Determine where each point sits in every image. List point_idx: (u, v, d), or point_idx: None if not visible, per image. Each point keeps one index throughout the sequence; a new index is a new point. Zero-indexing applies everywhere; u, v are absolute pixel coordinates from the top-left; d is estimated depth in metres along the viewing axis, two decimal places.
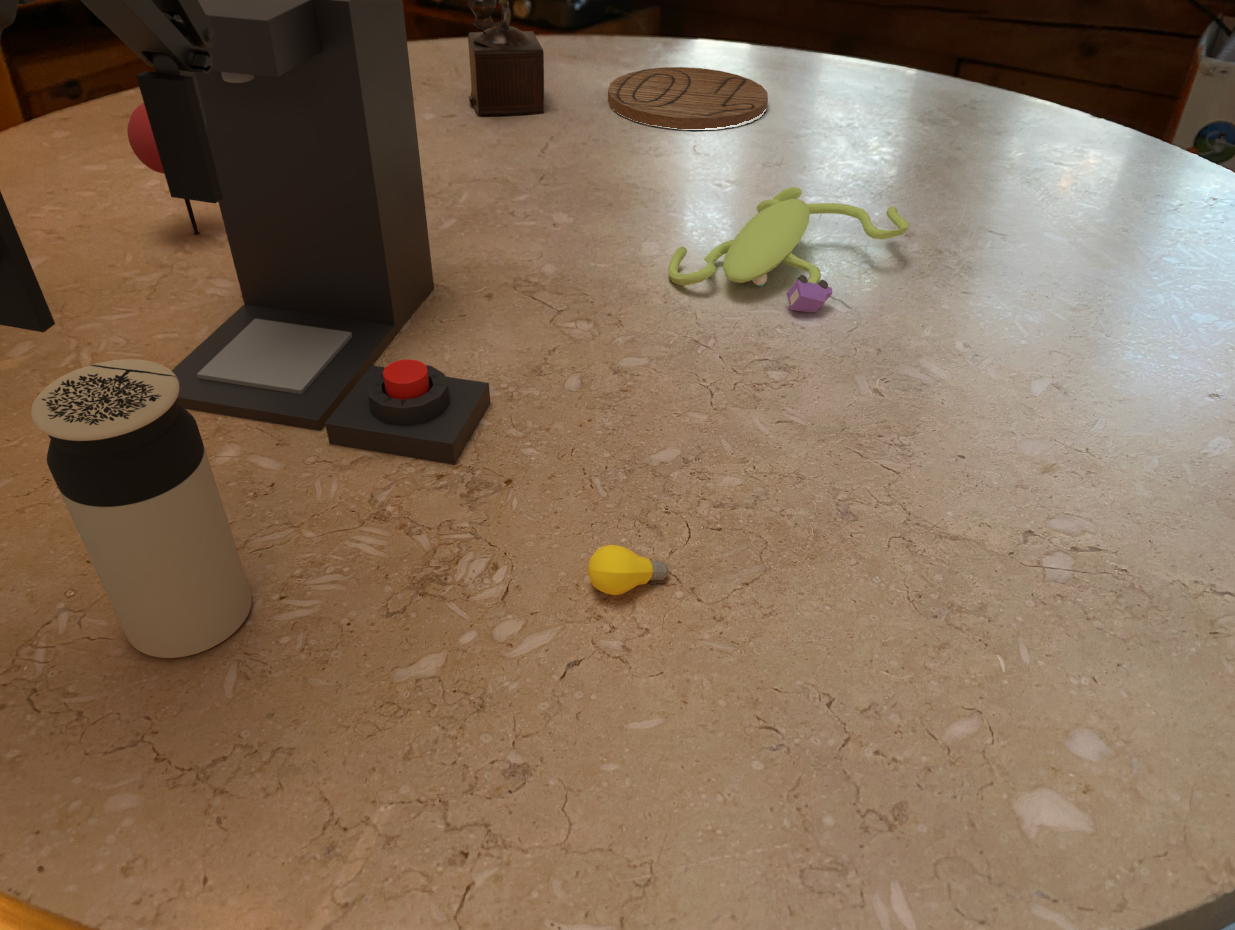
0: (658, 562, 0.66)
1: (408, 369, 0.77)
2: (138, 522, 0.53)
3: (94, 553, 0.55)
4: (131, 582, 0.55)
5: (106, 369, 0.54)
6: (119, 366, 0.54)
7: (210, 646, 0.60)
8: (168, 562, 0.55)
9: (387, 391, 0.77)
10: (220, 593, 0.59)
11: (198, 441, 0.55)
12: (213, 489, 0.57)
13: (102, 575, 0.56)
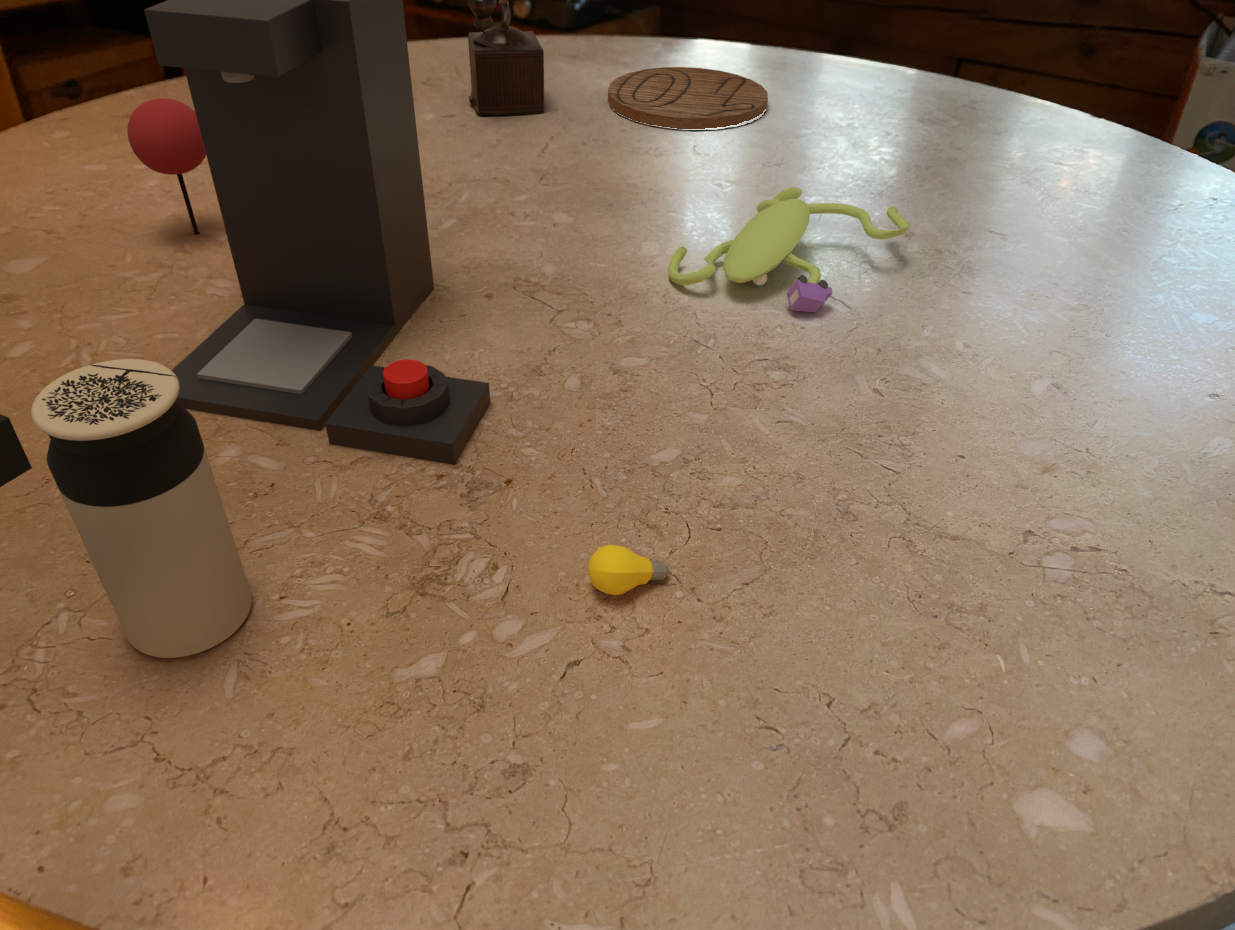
0: (658, 562, 0.66)
1: (408, 369, 0.77)
2: (138, 522, 0.53)
3: (94, 553, 0.55)
4: (131, 581, 0.55)
5: (106, 369, 0.54)
6: (118, 366, 0.54)
7: (210, 646, 0.60)
8: (168, 561, 0.55)
9: (387, 391, 0.77)
10: (220, 593, 0.59)
11: (198, 441, 0.55)
12: (213, 489, 0.57)
13: (102, 575, 0.56)
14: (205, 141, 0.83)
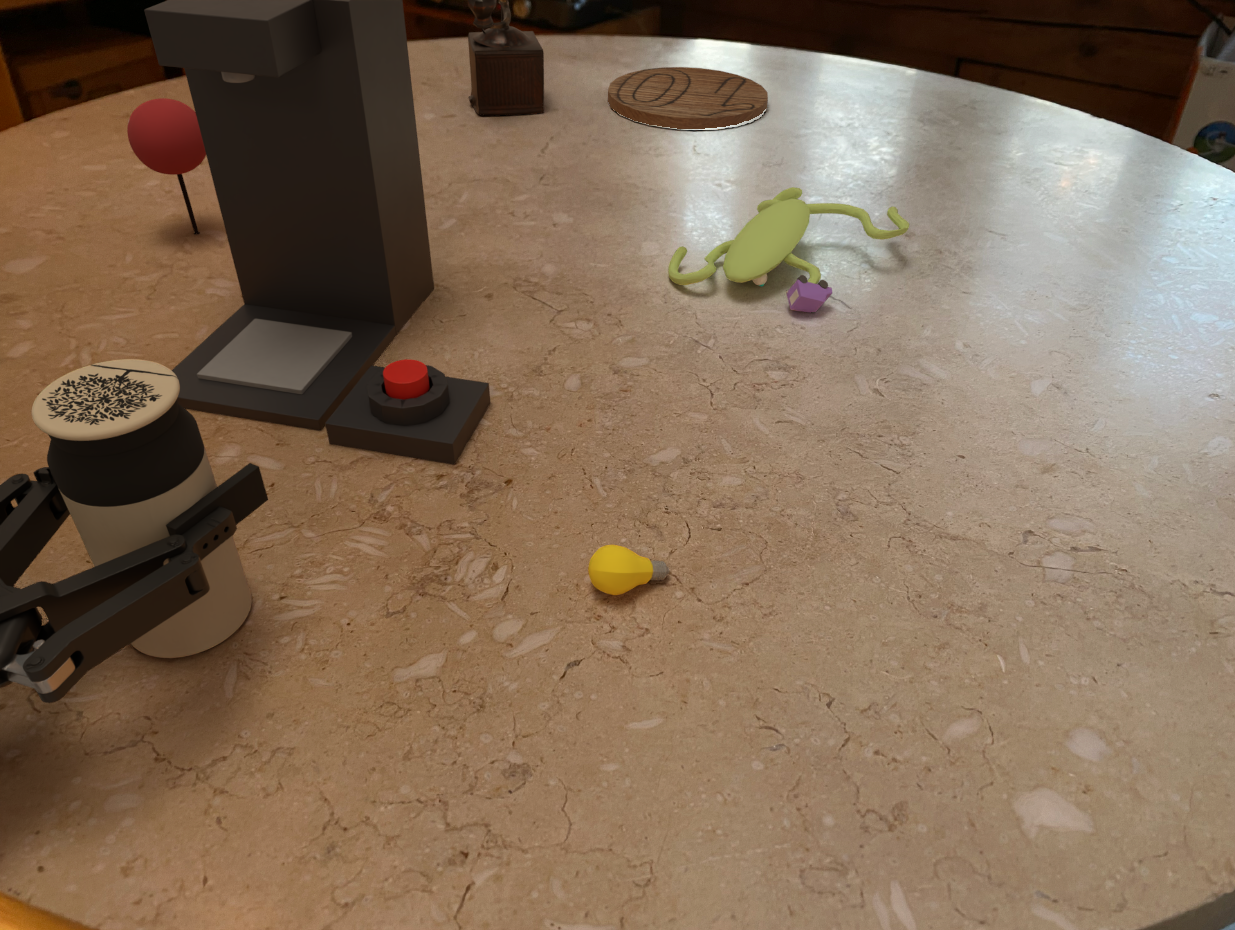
0: (658, 562, 0.66)
1: (408, 369, 0.77)
2: (139, 522, 0.53)
3: (94, 553, 0.55)
4: None
5: (106, 369, 0.54)
6: (119, 366, 0.54)
7: (210, 646, 0.60)
8: (168, 562, 0.55)
9: (387, 391, 0.77)
10: (220, 593, 0.59)
11: (198, 441, 0.55)
12: (213, 489, 0.57)
13: None
14: (205, 141, 0.83)
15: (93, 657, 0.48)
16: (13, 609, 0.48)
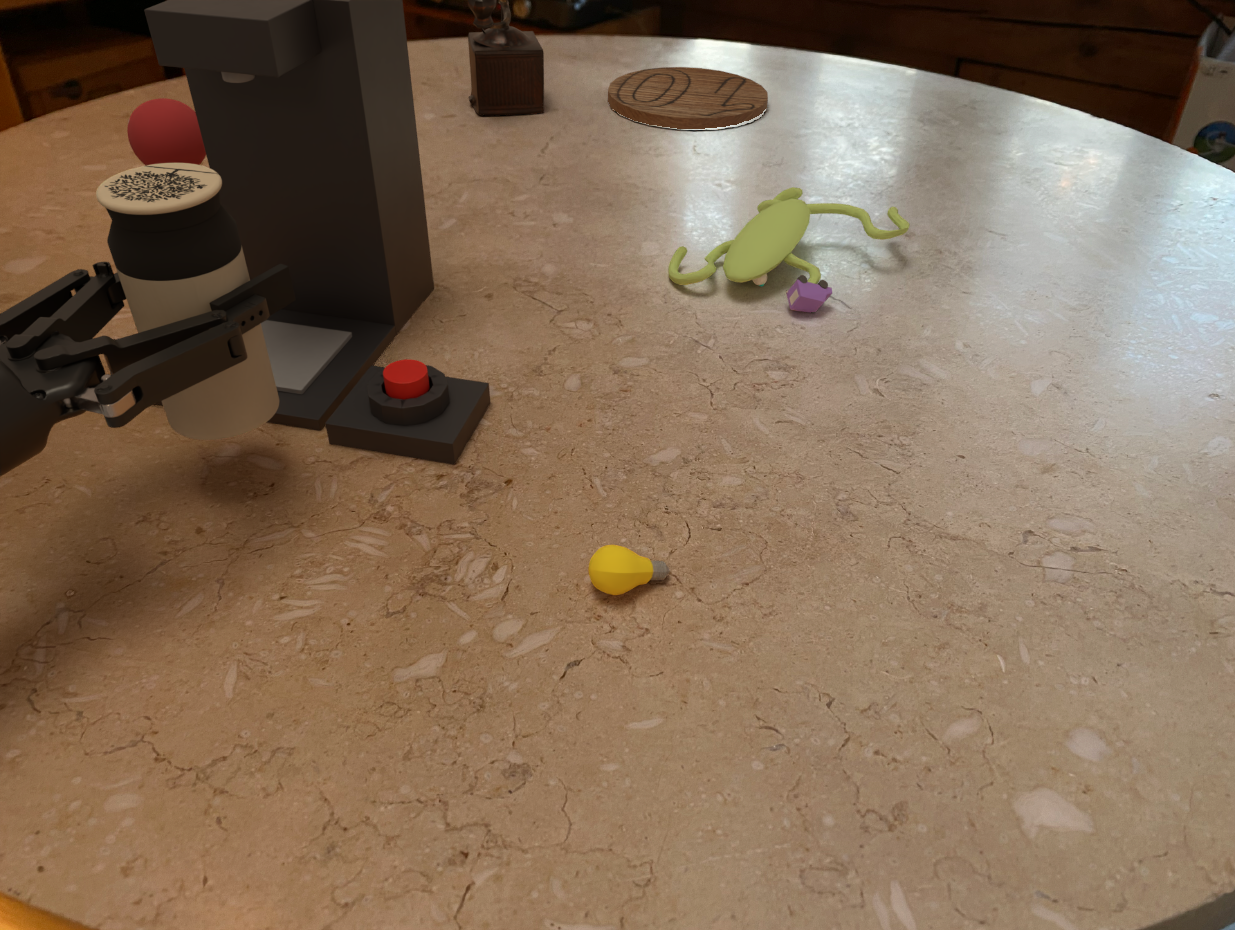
0: (658, 562, 0.66)
1: (408, 369, 0.77)
2: (186, 298, 0.61)
3: None
4: None
5: (158, 168, 0.62)
6: (169, 167, 0.62)
7: (244, 432, 0.69)
8: None
9: (387, 391, 0.77)
10: (253, 382, 0.67)
11: (237, 235, 0.63)
12: None
13: None
14: (205, 141, 0.83)
15: (151, 396, 0.57)
16: (83, 352, 0.56)
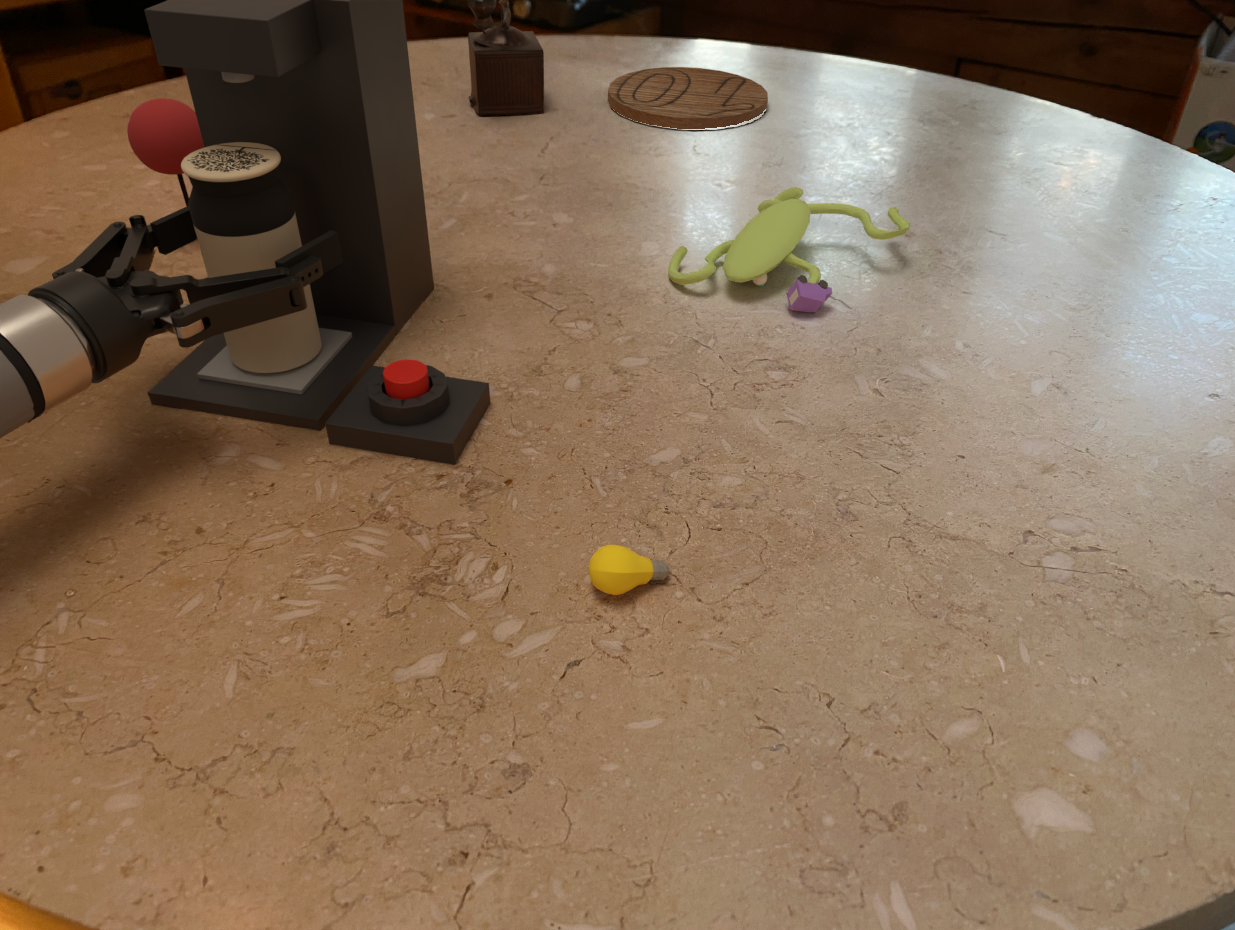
0: (659, 562, 0.66)
1: (408, 369, 0.77)
2: (252, 251, 0.75)
3: None
4: None
5: (228, 146, 0.76)
6: (236, 145, 0.76)
7: (294, 366, 0.83)
8: None
9: (387, 391, 0.77)
10: (302, 324, 0.82)
11: (291, 200, 0.77)
12: (300, 242, 0.79)
13: None
14: (205, 141, 0.83)
15: (217, 327, 0.69)
16: (167, 286, 0.69)
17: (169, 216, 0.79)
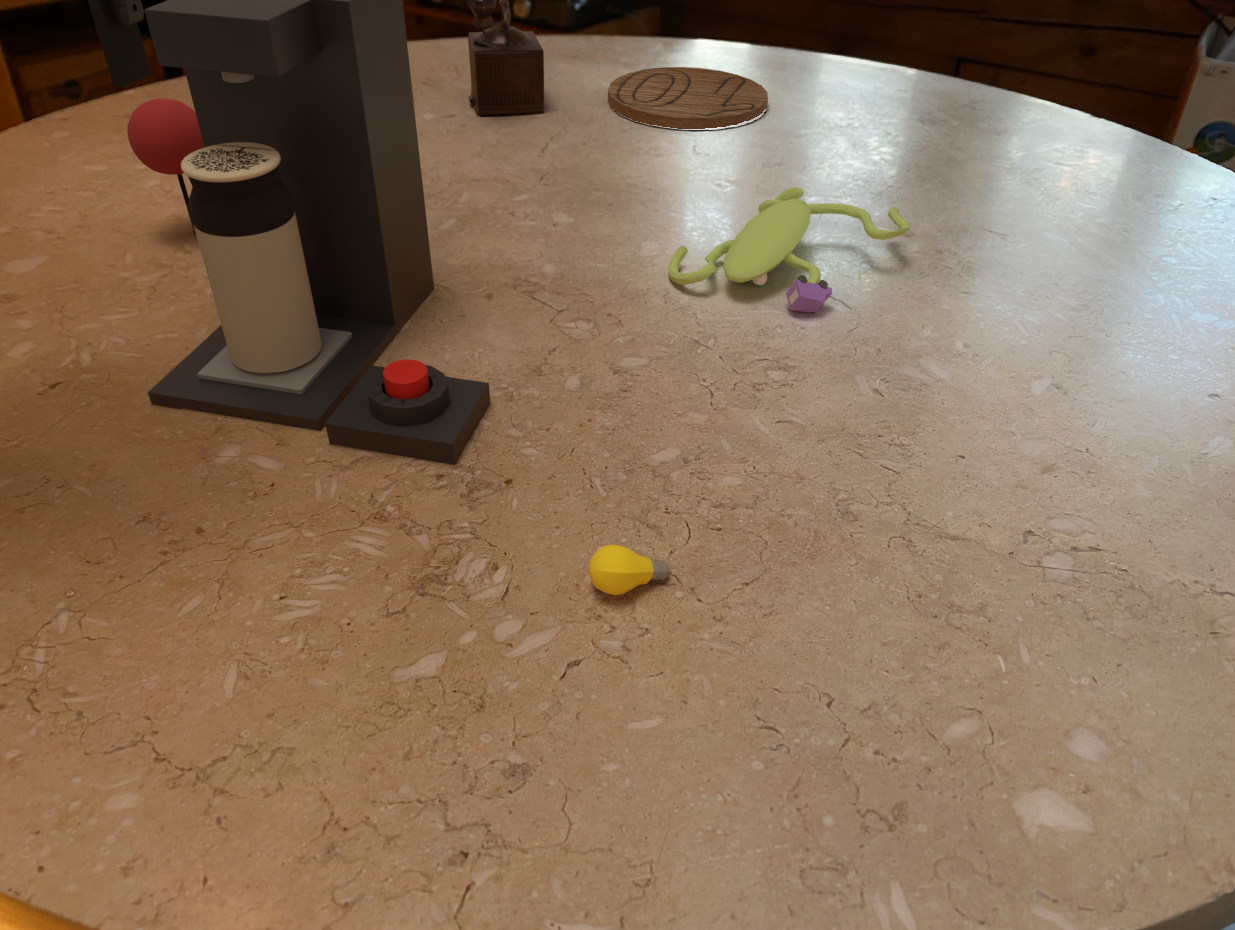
0: (659, 562, 0.66)
1: (408, 369, 0.77)
2: (252, 251, 0.75)
3: (218, 280, 0.77)
4: (243, 303, 0.78)
5: (228, 146, 0.76)
6: (236, 145, 0.76)
7: (294, 366, 0.83)
8: (270, 288, 0.78)
9: (387, 391, 0.77)
10: (302, 324, 0.82)
11: (291, 200, 0.77)
12: (300, 242, 0.79)
13: (221, 301, 0.79)
14: (205, 141, 0.83)
15: None
16: None
17: None
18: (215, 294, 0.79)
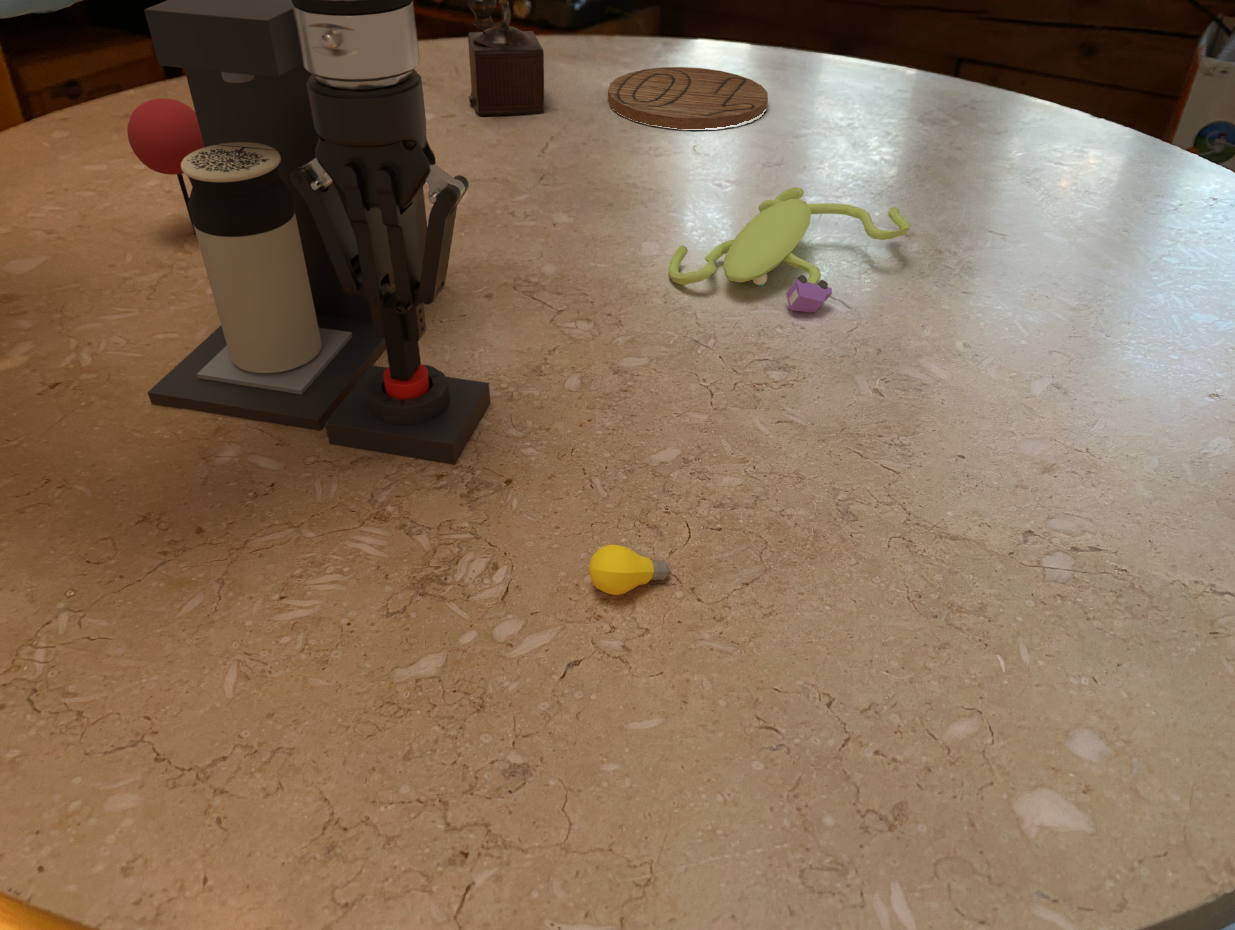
0: (659, 562, 0.66)
1: None
2: (252, 251, 0.75)
3: (218, 280, 0.77)
4: (243, 303, 0.78)
5: (228, 146, 0.76)
6: (236, 145, 0.76)
7: (294, 366, 0.83)
8: (270, 288, 0.78)
9: (387, 393, 0.77)
10: (302, 324, 0.82)
11: (291, 200, 0.77)
12: (300, 242, 0.79)
13: (221, 301, 0.79)
14: (205, 141, 0.83)
15: (447, 222, 0.67)
16: None
17: None
18: (215, 294, 0.79)
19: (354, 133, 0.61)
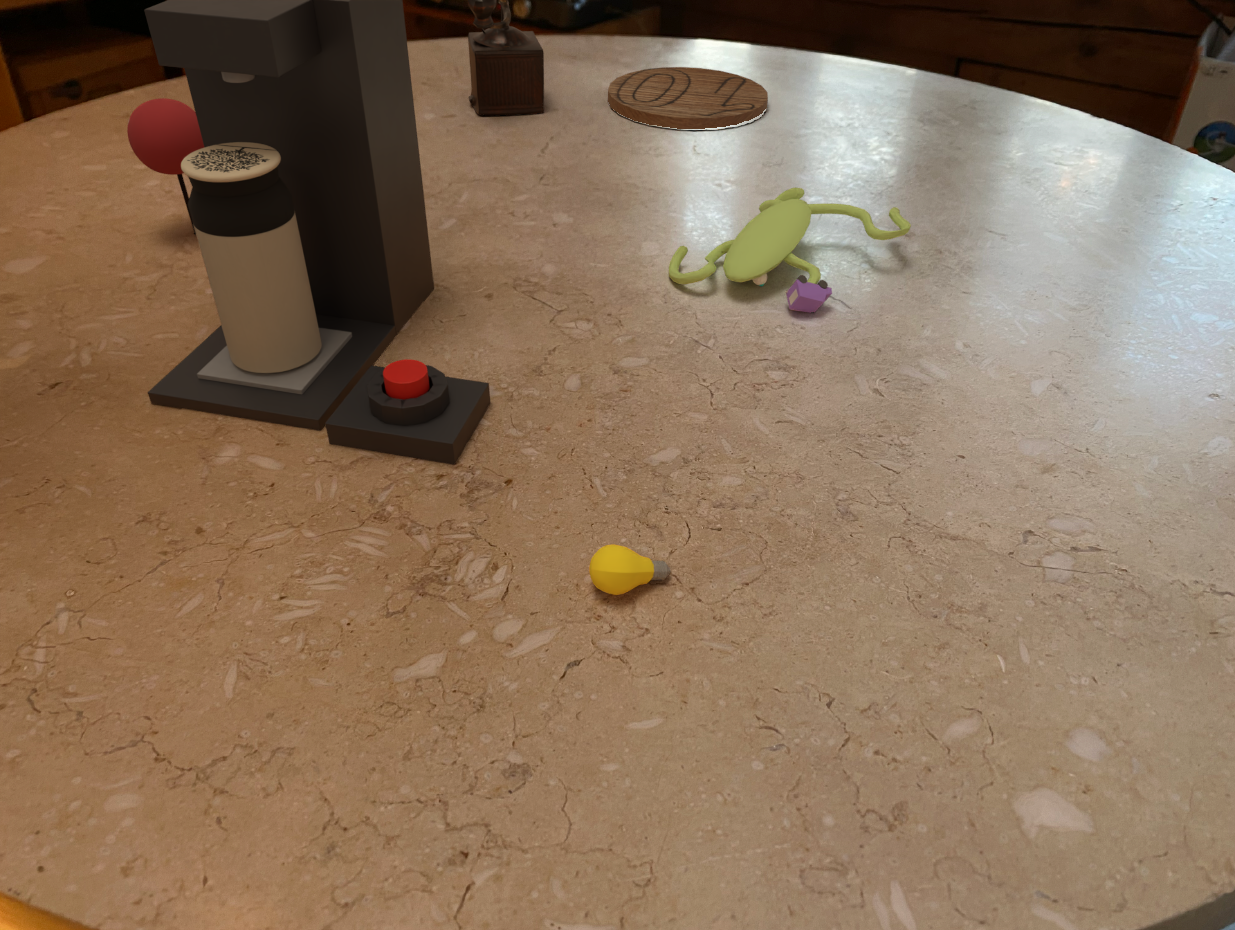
0: (659, 562, 0.66)
1: (408, 369, 0.77)
2: (252, 251, 0.75)
3: (218, 280, 0.77)
4: (243, 303, 0.78)
5: (228, 146, 0.76)
6: (236, 145, 0.76)
7: (294, 366, 0.83)
8: (270, 288, 0.78)
9: (387, 391, 0.77)
10: (302, 324, 0.82)
11: (291, 200, 0.77)
12: (300, 242, 0.79)
13: (221, 301, 0.79)
14: (205, 141, 0.83)
15: None
16: None
17: None
18: (215, 294, 0.79)
19: None
